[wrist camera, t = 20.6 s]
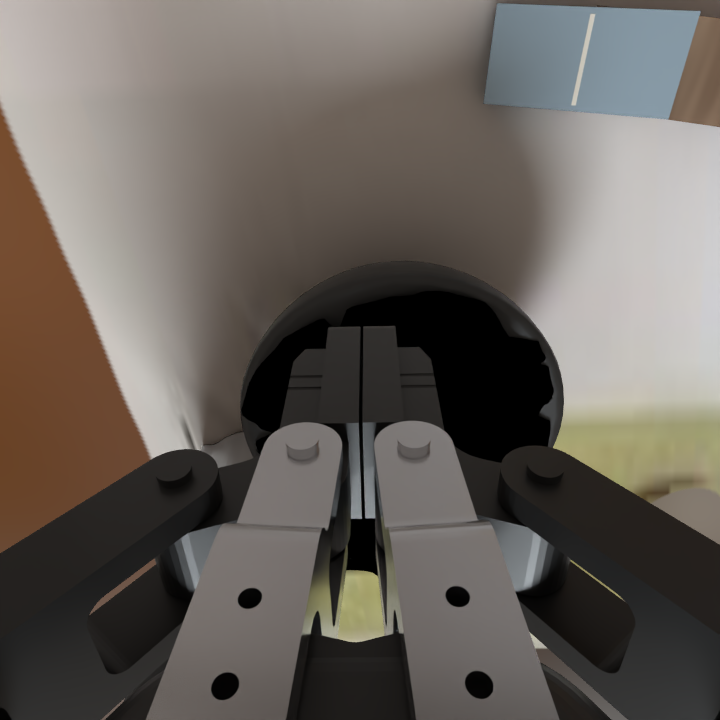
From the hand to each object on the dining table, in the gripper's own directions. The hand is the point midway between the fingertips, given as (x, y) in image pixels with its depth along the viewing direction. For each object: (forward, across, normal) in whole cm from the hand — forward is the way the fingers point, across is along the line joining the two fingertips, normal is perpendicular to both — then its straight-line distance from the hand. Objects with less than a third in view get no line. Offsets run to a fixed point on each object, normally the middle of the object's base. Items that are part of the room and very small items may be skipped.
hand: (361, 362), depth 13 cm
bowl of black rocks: (+27, -2, +15) cm, 31 cm away
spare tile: (+26, -7, -4) cm, 28 cm away
